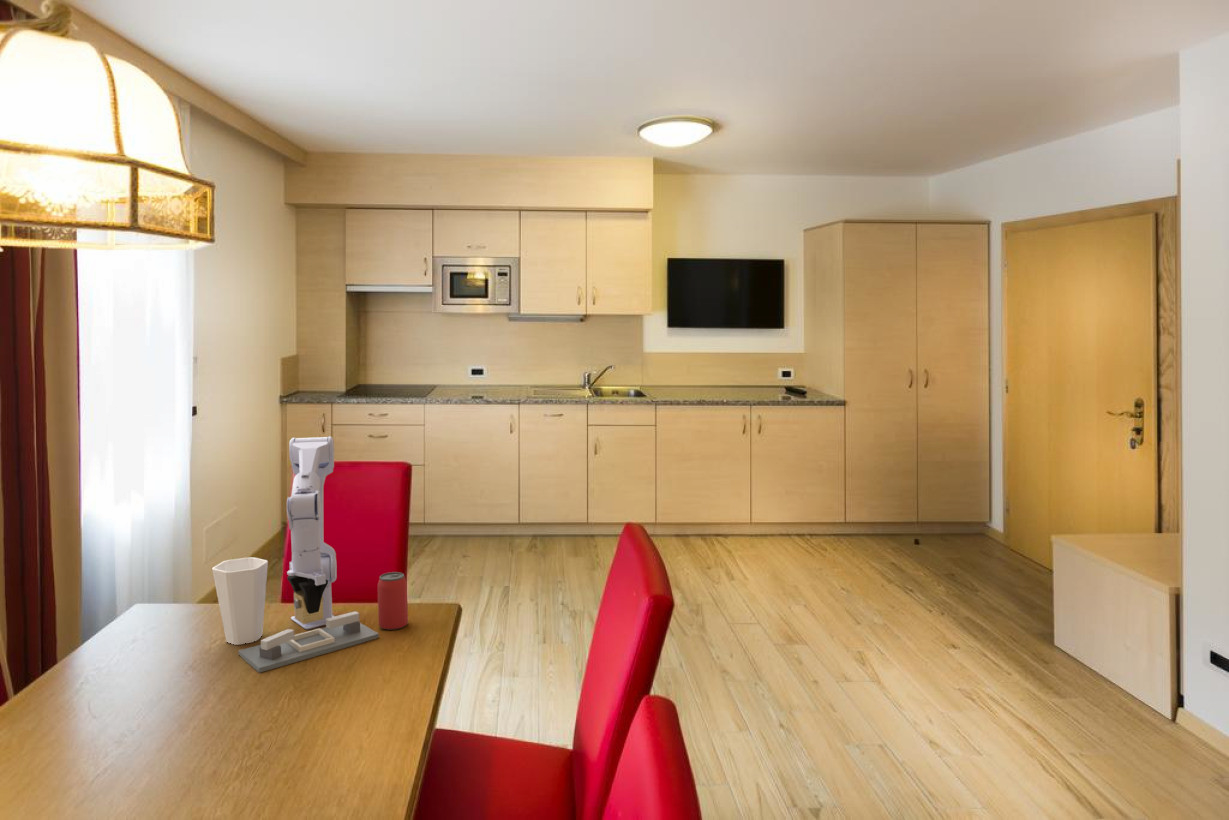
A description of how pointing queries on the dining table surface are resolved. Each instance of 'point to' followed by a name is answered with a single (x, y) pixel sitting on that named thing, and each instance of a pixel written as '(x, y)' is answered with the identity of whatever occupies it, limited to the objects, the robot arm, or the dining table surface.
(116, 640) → the dining table surface
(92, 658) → the dining table surface
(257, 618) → the cup
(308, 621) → the block
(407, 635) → the dining table surface
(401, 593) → the beer can
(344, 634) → the shaft board
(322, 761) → the dining table surface
